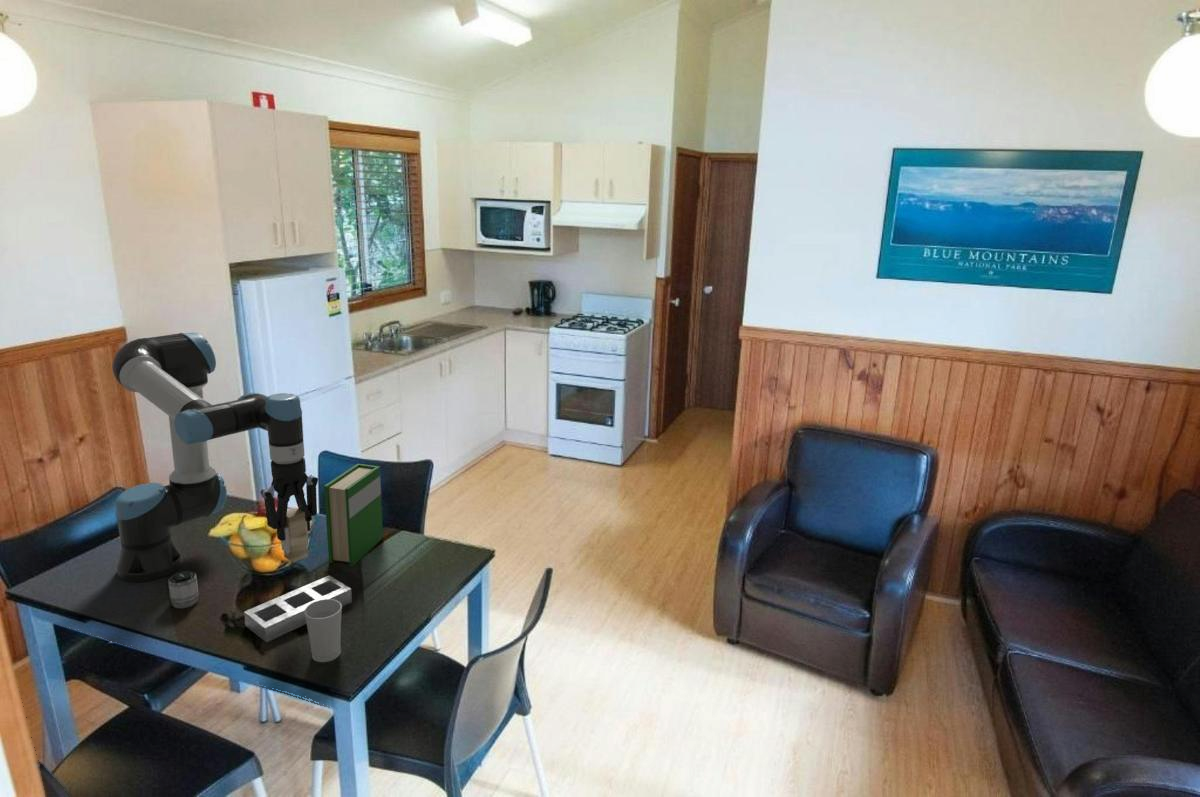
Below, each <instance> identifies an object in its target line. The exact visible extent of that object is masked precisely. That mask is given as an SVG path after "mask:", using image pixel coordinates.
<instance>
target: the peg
mask: <svg viewBox="0 0 1200 797" xmlns="http://www.w3.org/2000/svg"><path fill="white" fill-rule="evenodd" d="M285 526H286V527H288V528H289V539H290V551H291V552H290V553H287V552H285V551H283V558H285V559H287V560H288V561H290V562H292V563H295V562H298V561H300V560H304V559H306V558H308V557H309V550H308V546H307V535H306V523H305V512H303V511H301V510H299V509H298V507H293V508H289V509H287V516H286V524H285Z"/></svg>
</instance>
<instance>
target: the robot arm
mask: <svg viewBox="0 0 1200 797" xmlns="http://www.w3.org/2000/svg"><path fill="white" fill-rule="evenodd" d="M216 360H217V359H216V356H215V352H214V350H213V347H212V346H211V344H210V343H209V341H208V339H206V337H205V336H203V335H202V334H200V333H198V332H179V333H171V334H165V335H158V336H152V337H142V338H136V339H133V340H131V341H129V342H127V343H125V344H124V345H123V346H121V347H120V349H118V351H117V352H116V354H115V355H114V357H113V360H112V364H111V366H112V367H111V368H112V373H113V376H114V378H115V380H116V381H117V382H118V383H119V385H120V386H122V387H123V388H124V389H126V390H127V391H129V392H131V393H132V392H133V393H138V394H140V395H141V396H142V397H144V398H145V399H146V400H147V401H149V402H150V403H152V404H153V406H155V407H157V408H158V409H159V410H161V411H162V412H163V413H164V414H166V415H167V416H168V421H169V431H170V433H169V434H170V440H171V449H172V458H173V459H172V460H173V467H174V468H173V469H174V470H173V471H172V472H171V473H169V476H168V480H169V484H168V485H164V484H162V483H160V482H159V483H158V482H149V483H142V484H138V485H135V486H132V487H130V488H128V489H126V490H124V491H122V492H121V493H120V494H119V495H118V497H117V498H116V499H115V501H114V502H115V504H114V505H115V518H116V521H117V526H118V528H117V529H118V533H119V540H120V545H121V548H120V549H121V550H120V554H119V556H118V561H117V566H116V570H117V572H116V573H117V577H118V578H119V579H120V580H122V581H125V582H131V583H141V582H143V583H145V582H149V581H153V580H158V579H161V578H164V577H167V576H168V575H170V574H172V573H174V572H175V571H177V570H179V568H180V567H181V566H182V564H183V559H182V558H183V557H182V554H181V551H180V550H179V547H177V545H176V543H175V541H174V540H173V538H172V534H171V528H175V527H176V526H180V525H183V524H187V523H189V522H192V521H195V520H198V519H199V520H200V519H201V518H206V517H209V516H211V515H213V514H215V513H218V512H220V511H221V510H222V509H223V508H224V507H225V505H226V501H227V496H228V495H227V494H228V493H227V492H228V491H227V486H226V484H225V479H224V478H223V477H222V475H221V474H220V473H218V472H217V471H216V469H215V468H213V466H210V459H209V458H210V457H209V448H208V441H211V440H214V439H218V438H223V437H226V436H230V435H234V434H238V433H243V432H247V431H251V430H254V429H255V430H256V429H262V430H264V431H266V432H267V437H268V447H269V459H270V460H271V461H270V468H271V477H272V480H271V481H272V482H271V485H270V486H269V487H268V488H267V489H264V488H263V489H262V490H260V495H261V496H262V498H263V501H264V507H265V508H264V509H265V516H266V522H267V526H268V527H269V528H271V529H273V530H276V536H277V539H278V541H280V544H281V550H282V551H283V552H284V551H285V552H287V553H290V552H291V551H290V539H289V528H288V527H286V526H285V524H286V516H287V510H288V506H289V503H290V500H291V497H293V496H294V499H295V502H296V505H297V508H298V509H299V510H301V511H303V512H305V523H306V535H307V547H308V546H309V544H310V543H309V533H308V532H310V531H311V521H312V520H313V516H317V514H318V499H317V486H318V481H319V478H318V477H316V476H314V475H312V474H311V475H308V474H307V473H306V472H307V466H306V457H305V443H304V426H303V410H302V406H301V399H300V397H299V396H298V395H297V394H295V393H286V392H282V393H274V394H271V395H269V396H267V395H266V394H261V393H256V392H247V393H244V394H242V395H241V396H240V397H238V398H237V399H236V400H232V401H226V402H222V403H216V404H211V403H209V402H208V401H206V400H205V399H204V392H203V388H204V387H205V386H206V385H207V384H208V383H209V378H208V374H211V373H213V372H214V371H215V370H216V367H217V361H216ZM305 485H306V486H305ZM304 486H305V487H306V490H305V491H306V493H305V492H304ZM275 492H276V493H277V496H276V497H277V504H275V501H276V500H275V499H274V497H275ZM305 495H306V498H305Z"/></svg>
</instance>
